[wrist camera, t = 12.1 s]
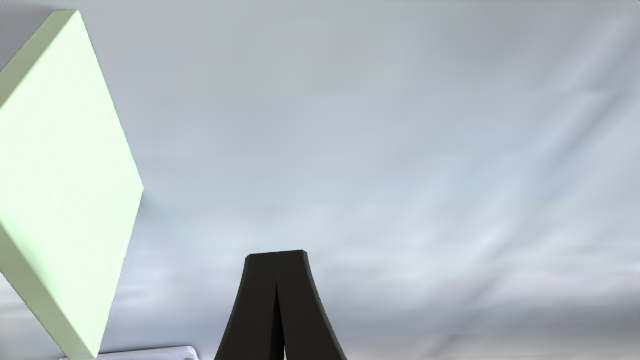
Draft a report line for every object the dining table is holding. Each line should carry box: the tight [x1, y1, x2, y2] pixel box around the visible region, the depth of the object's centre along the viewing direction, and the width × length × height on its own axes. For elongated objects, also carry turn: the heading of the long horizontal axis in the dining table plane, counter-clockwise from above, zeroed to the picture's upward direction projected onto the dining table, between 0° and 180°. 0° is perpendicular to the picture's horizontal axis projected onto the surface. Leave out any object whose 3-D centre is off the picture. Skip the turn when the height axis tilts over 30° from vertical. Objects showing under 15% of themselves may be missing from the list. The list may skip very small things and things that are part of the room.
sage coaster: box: [0, 10, 144, 360], centre depth 14 cm, size 8×1×8 cm, turn 1°
